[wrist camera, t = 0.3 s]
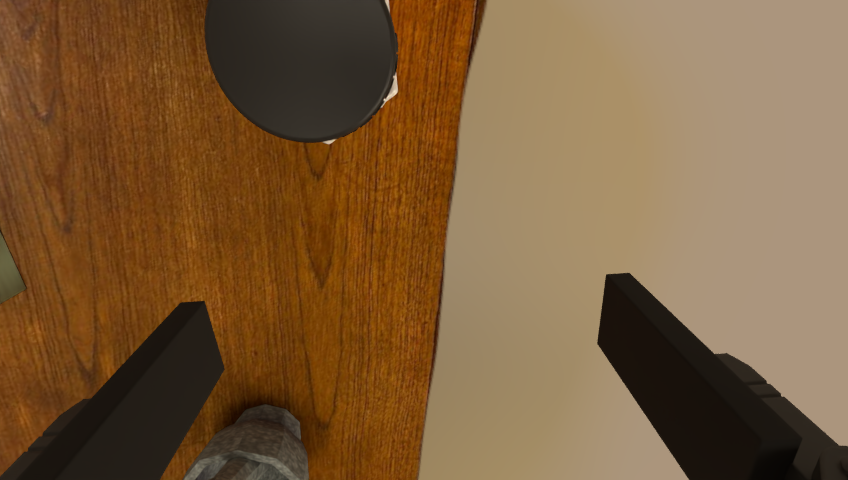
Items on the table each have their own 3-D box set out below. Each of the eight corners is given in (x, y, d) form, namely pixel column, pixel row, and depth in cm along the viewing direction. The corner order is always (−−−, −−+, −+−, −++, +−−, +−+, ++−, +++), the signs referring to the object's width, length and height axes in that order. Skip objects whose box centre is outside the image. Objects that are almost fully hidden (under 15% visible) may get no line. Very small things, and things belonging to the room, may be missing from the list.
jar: (325, 146, 31) (286, 184, 20) (247, 47, 29) (152, 27, 18) (424, 72, 30) (441, 67, 19) (351, -40, 27) (321, -122, 16)
